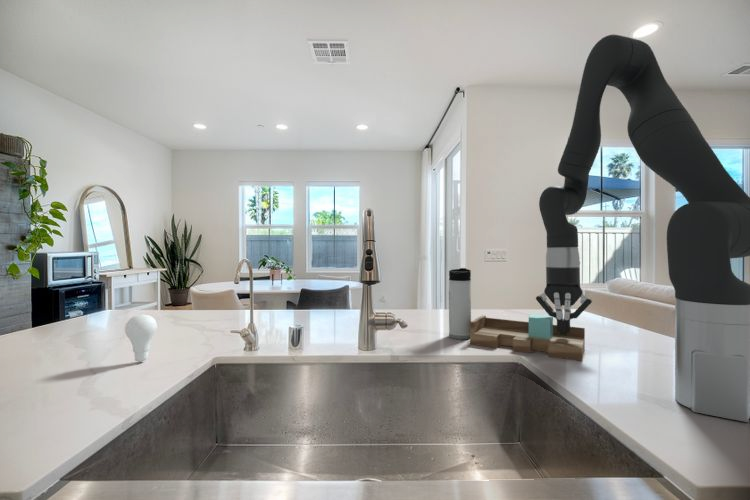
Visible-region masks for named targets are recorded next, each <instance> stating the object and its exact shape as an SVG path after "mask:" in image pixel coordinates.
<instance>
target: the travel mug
mask: <svg viewBox="0 0 750 500" xmlns="http://www.w3.org/2000/svg"><path fill="white" fill-rule="evenodd" d="M471 271H472V270H471V269H468V268H466V267H460V268H455V269H450V270H448V276H449V278H448V336H449V337H450V338H451V339H452V340H453V339H454V340H462V341H463V340H464V341H465V340H470V322H471V321H472V279H471V277H472V275H471V274H472V272H471Z"/></svg>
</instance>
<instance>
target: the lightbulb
mask: <svg viewBox="0 0 750 500" xmlns="http://www.w3.org/2000/svg"><path fill="white" fill-rule="evenodd" d="M157 329H158V324H157V320H156V319H155V318H154V317H153V316H151V315H150V314H149V315H148V314H143V313H141V314H137V315H134V316H132V317H131V318H129V319H128V321H126V323H125V326H124V333H125V335H126V337H127V338H128V339H129V341H130V343H131V345H132V352H133V353H134V361H135V362H138V363H139V362H141V363H144V362H145V361H146V360H148V358H149V350H150V346H151V341H152V339H153V337H154V336H155V334H156V332H157ZM143 361H144V362H143Z"/></svg>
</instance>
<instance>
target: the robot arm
mask: <svg viewBox="0 0 750 500" xmlns="http://www.w3.org/2000/svg"><path fill="white" fill-rule="evenodd" d="M607 86H609V87H613V88H616V89H618V90H619V91H620V93H622V95H623V96H624V98H625V100H626V101H627V103H628V105H629V108H630V112H629V113H630V114H629V116H628V121H627V135H628V139H629V140H630V142H631V144H632V146H633V148H634V149H635V152H636V154H637V155H638V158H639V159H640V160H641V161H642V163H644V165H645V166H646V167H647V168H648V169H650V170H651V171H653V172H654V174H657V176H659V177H660V178H662V179H663V180H664V181H665V182H667V183H669V184H670V185H671V186H672V187H674V188H675V189H676V190H677V191H678V192H679V193H680V195H681V194H682V196H683V197H684V198H685V200H686V201H687V203H685V204H684V205H682V206H680V207H679V208H677V209H676V210H675V211H674V212H673V213H672V214H671V217H670V218H669V221H668V224H667V227H666V228H667V229H666V253H667V268H668V275H669V280H670V283H671V284H672V286H673V289H674V311H675V312H674V398H675V400H676V402H678V403H679V404H681V406H685V407H687V408H688V409H690V410H691V411H692V412H693V413H699V414H703V415H707V416H714V417H718V418H723V419H729V420H735V421H738V422H745V423H749V422H750V420H749V419H750V283H748V282H746V281H743V280H741V279H740V278H739V277H737V276H736V275H735V274H734V272H733V269H732V265H731V262H732V261H731V259H741V258H747V257H750V196H749V195H748V194H747V193H746V191H745V190H744V189H742V187H741V186H740V185H739V184H738V183H737V182H736V180H735V179H734V178H733V177H732V176H731V175H730V173H729V172H728V171H727V170H726V168H725V167H724V165H723V164H722V162H721V161H720V159H719V158H718V156H717V154H716V153H715V151H714V150H713V149H712V147H711V146H710V144H709V143H708V142H707V140H706V139H705V137H704V135H703V134H702V131H701V130H700V129H699V127H698V125H697V123H696V122H695V121H694V119H693V117H692V116H691V114H690V113H689V111H688V110H687V109H686V107H685V106H684V105H683V104H682V102H681V100H680V99H679V98H678V96H677V95H676V93H675V91H674V90H673V89H672V87H671V86H670V84H669V83H668V82H667V80H666V78H665V77H664V73H663V72H662V70H661V67H660V64H659V63H658V60H657V58H656V55H655V53H654V51H653V49H652V48H651V46H650V45H649V44H647V42H644V41H642V40H640V39H636V38H634V37H633V38H632V37H629V36H625V35H620V34H614V33H613V34H608V35H606V36H603V37H602V38H601V39H599V40H598V41H597V42H596V43H595V45H594V46H593V47H592V48H591V50H590V52H589V54H588V56H587V59H586V62H585V64H584V68H583V72H582V77H581V81H580V86H579V91H578V95H577V100H576V104H575V112H574V114H573V119H572V125H571V129H570V132H569V135H568V139H567V142H566V144H565V147H564V150H563V152H562V156H561V157H560V161H559V163H558V167H557V174H559V175H560V176H562V177H563V178H564V184H563V186H559V185H557V186H556V185H552V186H549V187H546V188H545V189H544V190H543V191H542V192H541V195H540V196H539V201H538V207H539V212H540V215H541V220H542V223H543V225H544V228H545V229H544V230H545V231H546V252H545V253H546V254H545V277H546V278H545V279H546V281H545V285H546V286H545V288H544V291H543V293H541V294H540V295H537V296H536V297H535V300H536V301H537V302H538V304H539V305H540V307H541V308H543V310H544V311H545V312H546V313H547V315H548V316H552V317H553V318H555V319H556V325H557V331H558V332H560V334H561V335H567V333H569V332H570V326H571V320H573V319H578V317H579V316H580V315H581V314H582V313H583V312H585V311H586V309H587V308H588V307H589V306H590V305H591V304H592V302H593V300H592V298H591V297H588V296H587V295H585V294H584V292H583V289H582V288H581V261H580V259H581V258H580V252H579V251H580V250H579V232H578V228H577V227H578V226H576V225H575V224H573V223H570V222H569V221H568V219H567V216H572V215H574V214H576V213H578V212H579V211H580V210H581V209H582V207H583V206H584V205H585V202H586V199H587V194H588V186H589V177H590V172H591V169H592V167H593V166H594V163H595V160H596V157H597V155H598V153H599V151H600V147H601V141H602V130H601V105H602V104H601V103H602V99H603V96H604V93H605V90H606V88H607ZM548 299H549V300H550V302H551V303H552V304H553V305H554V308H555V310H554V308H553V307H552V306H551V305H550V304H549V303H548V302H547V301H548ZM579 299H580V301H579ZM578 301H579V303H580V306H579V307H578V308H577V309H575V311H574V312H572V307H573V305H574V306H575V303H577V302H578ZM563 307H564V309H563ZM563 311H564V312H563Z"/></svg>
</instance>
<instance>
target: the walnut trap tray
mask: <svg viewBox="0 0 750 500" xmlns="http://www.w3.org/2000/svg"><path fill="white" fill-rule="evenodd" d="M585 333H586V331H585V327H579V326H571V325H570V332H569V333H567V335H561V334H560V332H558V331H557V324H553V336H552V337H551V339H544V338H536V337H529V321H524V320H523V321H522V320H513V319H503V318H494V317H487V316H486V315H481V316H478V317H477V318H475V319H473V320H471V322H470V339H469V343H470V344H469V345H473V346H479V347H480V346H481V347H486V348H487V347H488V348H493V349H498V348H499V347H500V346H505V347H511V348H512V350H513V352H521V353H525V354H531V353H532V352H533V351H537V352H545V353H547V356H548V357H552V358H553V357H554V358H561V359H566V360H570V361H571V360H572V361H577V362H579V361H580V362H583V358H584V353H585V351H586V350H585V349H586V348H585V347H586V346H585V343H586V342H585V341H586V338H585V335H586V334H585Z"/></svg>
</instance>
